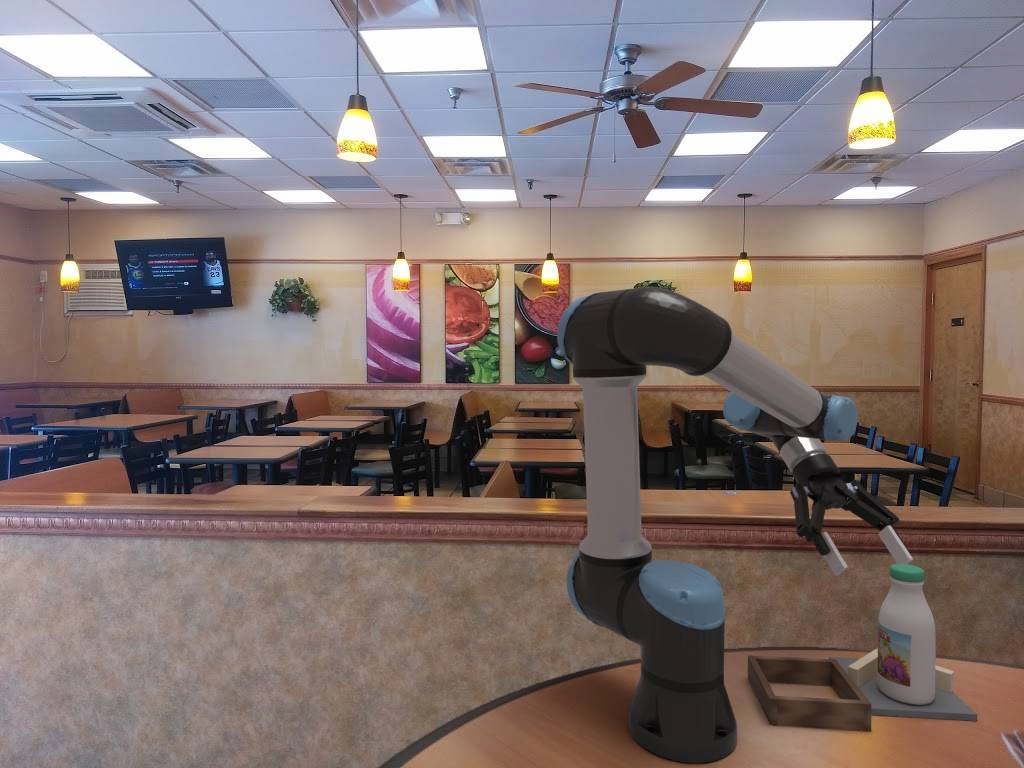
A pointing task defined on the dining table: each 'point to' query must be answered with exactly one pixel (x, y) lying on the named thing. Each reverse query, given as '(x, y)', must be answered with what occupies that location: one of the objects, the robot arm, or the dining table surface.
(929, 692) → the milk bottle
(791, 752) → the dining table surface
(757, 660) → the walnut collar
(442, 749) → the dining table surface
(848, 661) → the v cradle
